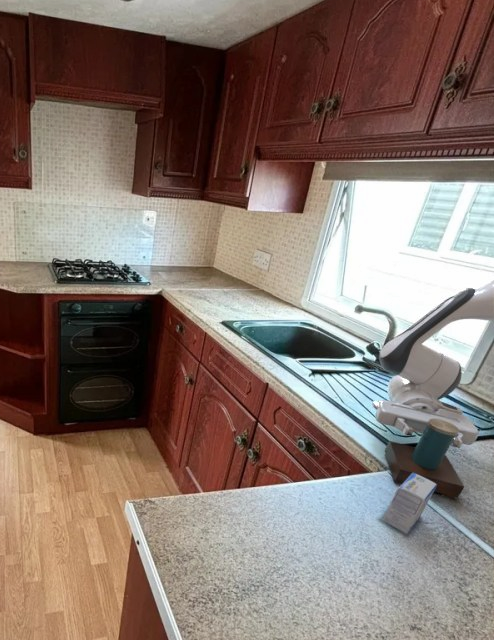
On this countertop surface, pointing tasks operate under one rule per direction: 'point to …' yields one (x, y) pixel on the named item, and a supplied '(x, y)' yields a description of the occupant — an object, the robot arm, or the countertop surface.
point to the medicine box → (409, 502)
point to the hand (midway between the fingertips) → (432, 438)
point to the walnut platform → (422, 470)
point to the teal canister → (434, 443)
